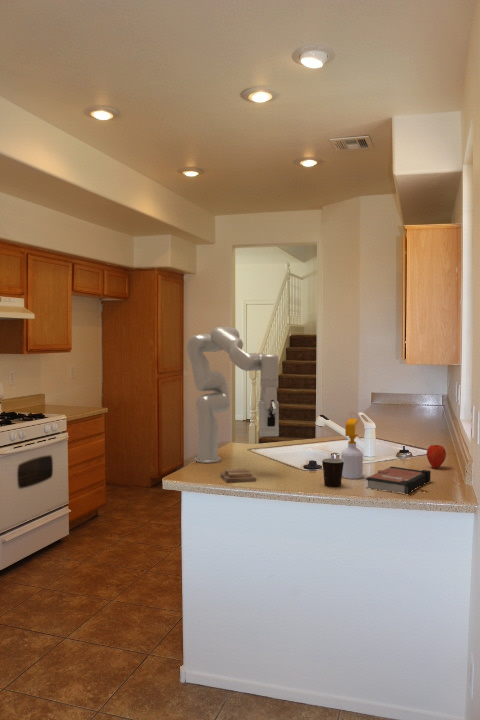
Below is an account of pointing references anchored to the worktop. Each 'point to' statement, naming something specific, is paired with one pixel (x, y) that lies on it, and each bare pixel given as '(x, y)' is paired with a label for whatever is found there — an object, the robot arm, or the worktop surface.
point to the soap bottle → (352, 454)
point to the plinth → (232, 480)
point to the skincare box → (263, 418)
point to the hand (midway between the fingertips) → (268, 424)
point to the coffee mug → (332, 472)
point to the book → (398, 479)
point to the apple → (436, 455)
